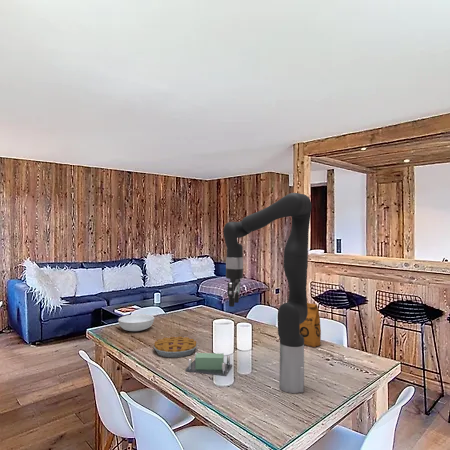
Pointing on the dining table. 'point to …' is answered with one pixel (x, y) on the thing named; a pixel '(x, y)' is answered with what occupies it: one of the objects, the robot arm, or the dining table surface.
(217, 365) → the board
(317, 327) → the coffee package
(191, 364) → the chassis
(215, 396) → the dining table surface
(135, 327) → the serving bowl
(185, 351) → the pie
